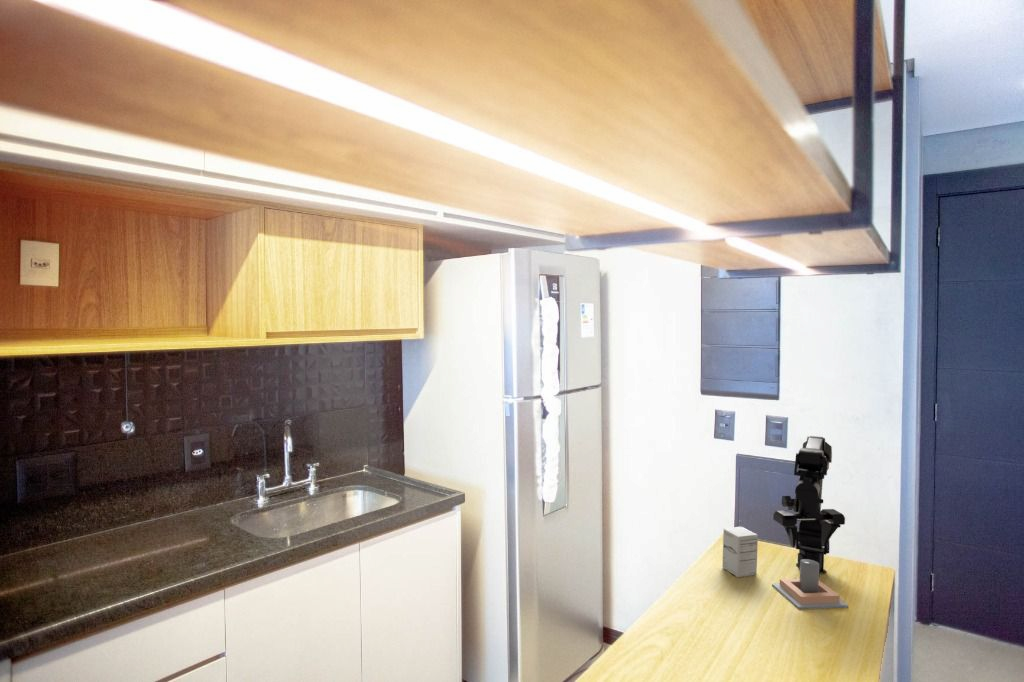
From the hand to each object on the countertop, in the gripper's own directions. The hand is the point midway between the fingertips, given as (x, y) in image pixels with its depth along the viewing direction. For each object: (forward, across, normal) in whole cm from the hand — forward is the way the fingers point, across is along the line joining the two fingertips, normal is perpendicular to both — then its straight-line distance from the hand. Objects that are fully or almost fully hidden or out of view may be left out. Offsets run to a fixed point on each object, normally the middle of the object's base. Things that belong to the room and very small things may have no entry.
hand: (808, 546), depth 174 cm
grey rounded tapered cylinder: (+11, +3, +6) cm, 13 cm away
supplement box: (+12, +15, -11) cm, 22 cm away
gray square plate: (+12, +3, +6) cm, 14 cm away
